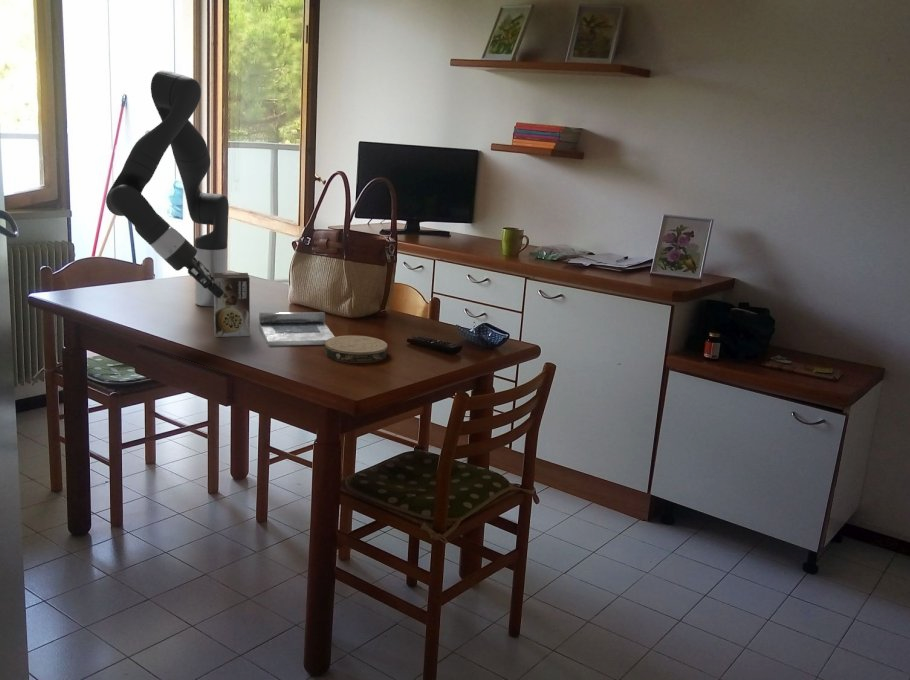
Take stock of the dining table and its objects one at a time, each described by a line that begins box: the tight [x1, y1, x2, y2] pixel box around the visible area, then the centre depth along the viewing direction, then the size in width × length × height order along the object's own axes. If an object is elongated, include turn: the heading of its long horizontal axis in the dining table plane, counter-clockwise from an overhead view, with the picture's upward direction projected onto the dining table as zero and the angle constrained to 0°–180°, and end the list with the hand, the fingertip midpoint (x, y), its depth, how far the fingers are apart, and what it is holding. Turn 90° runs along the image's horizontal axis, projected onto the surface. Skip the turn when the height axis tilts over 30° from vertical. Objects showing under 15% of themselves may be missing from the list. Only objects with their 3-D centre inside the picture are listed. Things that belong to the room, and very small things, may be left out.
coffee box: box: [213, 272, 251, 338], centre depth 221 cm, size 9×6×16 cm
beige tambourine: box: [324, 335, 388, 364], centre depth 213 cm, size 16×16×3 cm
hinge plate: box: [258, 311, 336, 347], centre depth 226 cm, size 20×18×4 cm
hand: (220, 292), depth 219 cm, fingers open, 8 cm apart
